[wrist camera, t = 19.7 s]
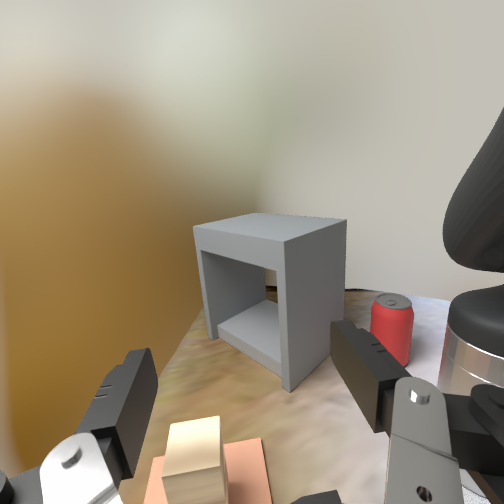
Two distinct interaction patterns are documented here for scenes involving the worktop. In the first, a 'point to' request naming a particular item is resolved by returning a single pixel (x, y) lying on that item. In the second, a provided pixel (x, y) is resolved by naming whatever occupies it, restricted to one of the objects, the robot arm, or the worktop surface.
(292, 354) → the box
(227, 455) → the terracotta mat
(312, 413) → the worktop surface
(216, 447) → the maple block
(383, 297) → the beer can
